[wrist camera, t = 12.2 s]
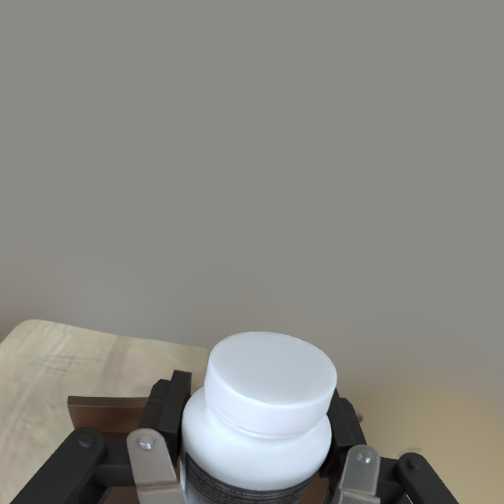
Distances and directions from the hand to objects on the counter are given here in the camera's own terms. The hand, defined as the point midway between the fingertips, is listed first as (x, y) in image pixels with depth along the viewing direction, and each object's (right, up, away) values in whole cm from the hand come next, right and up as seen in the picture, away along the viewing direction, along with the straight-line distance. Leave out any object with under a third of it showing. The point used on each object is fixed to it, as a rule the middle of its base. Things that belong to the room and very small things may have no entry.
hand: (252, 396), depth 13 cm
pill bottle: (-1, -7, -1) cm, 7 cm away
